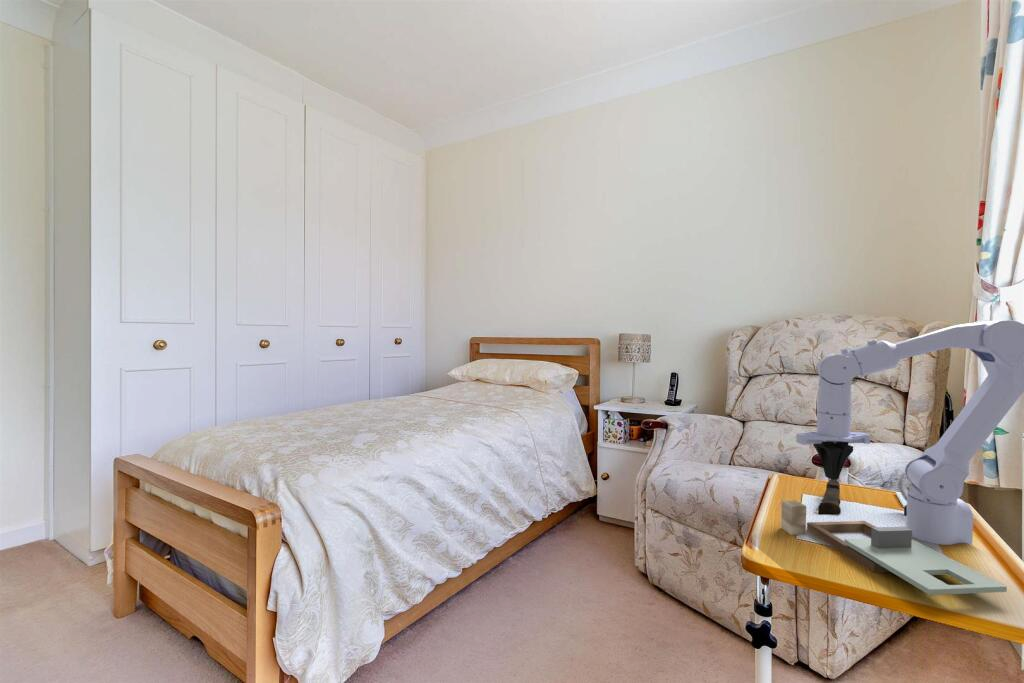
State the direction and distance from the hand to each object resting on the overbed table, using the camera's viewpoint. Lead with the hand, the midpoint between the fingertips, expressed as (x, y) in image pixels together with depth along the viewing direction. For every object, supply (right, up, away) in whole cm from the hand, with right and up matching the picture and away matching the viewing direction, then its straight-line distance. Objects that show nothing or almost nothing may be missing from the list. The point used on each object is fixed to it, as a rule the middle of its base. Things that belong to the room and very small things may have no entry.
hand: (831, 478), depth 99 cm
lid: (0, -8, -21) cm, 23 cm away
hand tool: (+8, -10, +12) cm, 18 cm away
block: (-11, -11, -5) cm, 16 cm away
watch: (+22, -11, +4) cm, 24 cm away
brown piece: (-1, -11, -12) cm, 16 cm away
